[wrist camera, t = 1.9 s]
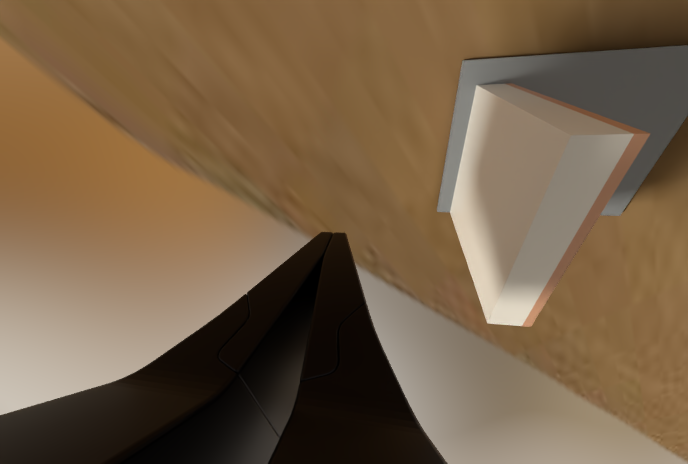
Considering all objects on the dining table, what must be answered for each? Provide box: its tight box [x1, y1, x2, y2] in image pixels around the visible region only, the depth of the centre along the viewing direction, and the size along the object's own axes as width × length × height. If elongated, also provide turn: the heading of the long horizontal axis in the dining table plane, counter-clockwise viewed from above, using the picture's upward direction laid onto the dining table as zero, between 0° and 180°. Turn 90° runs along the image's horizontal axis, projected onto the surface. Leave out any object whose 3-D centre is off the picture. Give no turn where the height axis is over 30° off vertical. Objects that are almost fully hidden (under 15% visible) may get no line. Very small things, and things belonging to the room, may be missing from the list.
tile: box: [450, 83, 650, 327], centre depth 11 cm, size 2×7×8 cm, turn 3°
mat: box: [437, 45, 688, 216], centre depth 13 cm, size 10×8×1 cm
